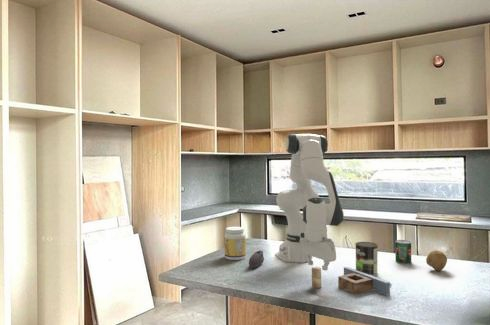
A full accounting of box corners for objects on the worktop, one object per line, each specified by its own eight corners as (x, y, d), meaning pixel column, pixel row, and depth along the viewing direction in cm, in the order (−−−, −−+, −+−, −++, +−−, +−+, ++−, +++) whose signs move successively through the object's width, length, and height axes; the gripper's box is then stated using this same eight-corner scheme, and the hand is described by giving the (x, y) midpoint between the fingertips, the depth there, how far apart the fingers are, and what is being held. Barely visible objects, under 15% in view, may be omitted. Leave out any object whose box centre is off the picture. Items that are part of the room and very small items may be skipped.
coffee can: (365, 277, 165) (364, 247, 165) (351, 271, 174) (350, 242, 174) (382, 274, 168) (382, 245, 168) (368, 268, 178) (367, 240, 178)
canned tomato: (414, 264, 185) (414, 243, 185) (399, 264, 185) (398, 243, 185) (407, 259, 193) (407, 239, 193) (393, 259, 193) (392, 239, 193)
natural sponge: (426, 272, 172) (426, 251, 172) (426, 267, 179) (426, 247, 179) (447, 274, 167) (447, 253, 167) (446, 269, 175) (446, 249, 175)
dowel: (310, 285, 155) (309, 267, 155) (317, 284, 157) (316, 266, 156) (316, 288, 151) (315, 270, 151) (323, 287, 153) (323, 268, 153)
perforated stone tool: (254, 271, 176) (254, 257, 176) (244, 269, 179) (244, 256, 179) (266, 263, 190) (266, 250, 190) (257, 262, 192) (257, 249, 192)
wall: (343, 278, 164) (343, 267, 164) (347, 277, 165) (346, 266, 165) (386, 295, 143) (386, 282, 143) (389, 294, 144) (389, 282, 144)
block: (338, 286, 153) (338, 276, 153) (355, 282, 158) (355, 272, 158) (355, 294, 144) (355, 283, 144) (372, 289, 149) (372, 279, 149)
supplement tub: (221, 256, 204) (221, 227, 204) (240, 253, 209) (240, 225, 209) (229, 261, 193) (229, 231, 193) (249, 259, 198) (249, 229, 198)
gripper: (339, 238, 146) (340, 272, 146) (307, 231, 164) (308, 261, 164) (327, 240, 143) (328, 274, 143) (296, 232, 161) (297, 263, 160)
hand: (317, 267), depth 153 cm, fingers open, 8 cm apart
